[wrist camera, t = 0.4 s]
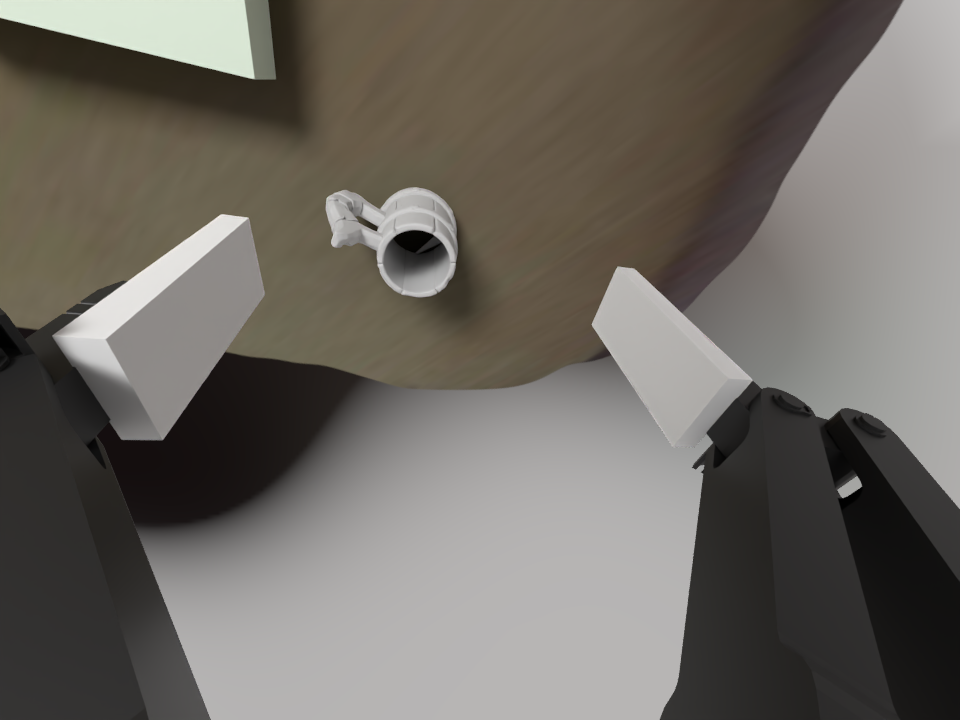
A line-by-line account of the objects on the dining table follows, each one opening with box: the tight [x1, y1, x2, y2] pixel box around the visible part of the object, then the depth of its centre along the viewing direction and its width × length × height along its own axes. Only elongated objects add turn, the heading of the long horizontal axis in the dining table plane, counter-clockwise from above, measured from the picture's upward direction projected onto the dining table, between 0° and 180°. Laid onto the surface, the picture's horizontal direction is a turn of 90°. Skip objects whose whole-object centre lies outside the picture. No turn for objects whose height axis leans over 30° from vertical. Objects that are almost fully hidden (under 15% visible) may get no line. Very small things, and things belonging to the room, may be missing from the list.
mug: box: [326, 187, 458, 297], centre depth 31 cm, size 8×12×12 cm, turn 61°
